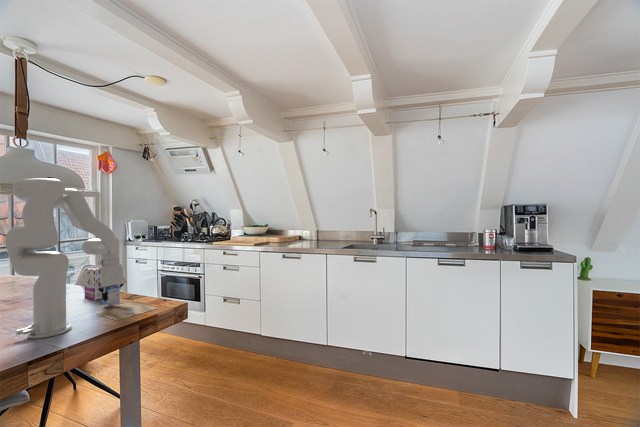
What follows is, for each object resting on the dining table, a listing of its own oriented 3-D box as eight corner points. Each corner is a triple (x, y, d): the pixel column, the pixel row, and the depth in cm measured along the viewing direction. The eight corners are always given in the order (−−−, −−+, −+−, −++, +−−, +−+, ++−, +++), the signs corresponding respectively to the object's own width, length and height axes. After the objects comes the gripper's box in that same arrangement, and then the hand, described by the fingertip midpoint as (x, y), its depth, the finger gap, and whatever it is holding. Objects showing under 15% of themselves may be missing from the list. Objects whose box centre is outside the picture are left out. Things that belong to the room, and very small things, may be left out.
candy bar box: (104, 298, 161) (104, 268, 161) (94, 301, 157) (93, 270, 157) (94, 295, 167) (94, 266, 167) (84, 298, 162) (83, 268, 162)
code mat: (116, 320, 128) (116, 320, 128) (96, 314, 136) (96, 313, 136) (157, 308, 143) (157, 308, 143) (136, 303, 152) (136, 302, 152)
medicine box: (101, 303, 147) (101, 286, 147) (111, 301, 151) (111, 284, 151) (110, 305, 143) (110, 288, 143) (120, 303, 147) (120, 285, 147)
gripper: (94, 265, 138) (94, 305, 138) (132, 260, 153) (132, 295, 153) (86, 264, 142) (87, 302, 142) (124, 259, 156) (124, 294, 156)
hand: (110, 298), depth 147 cm, fingers closed on medicine box, 4 cm apart
